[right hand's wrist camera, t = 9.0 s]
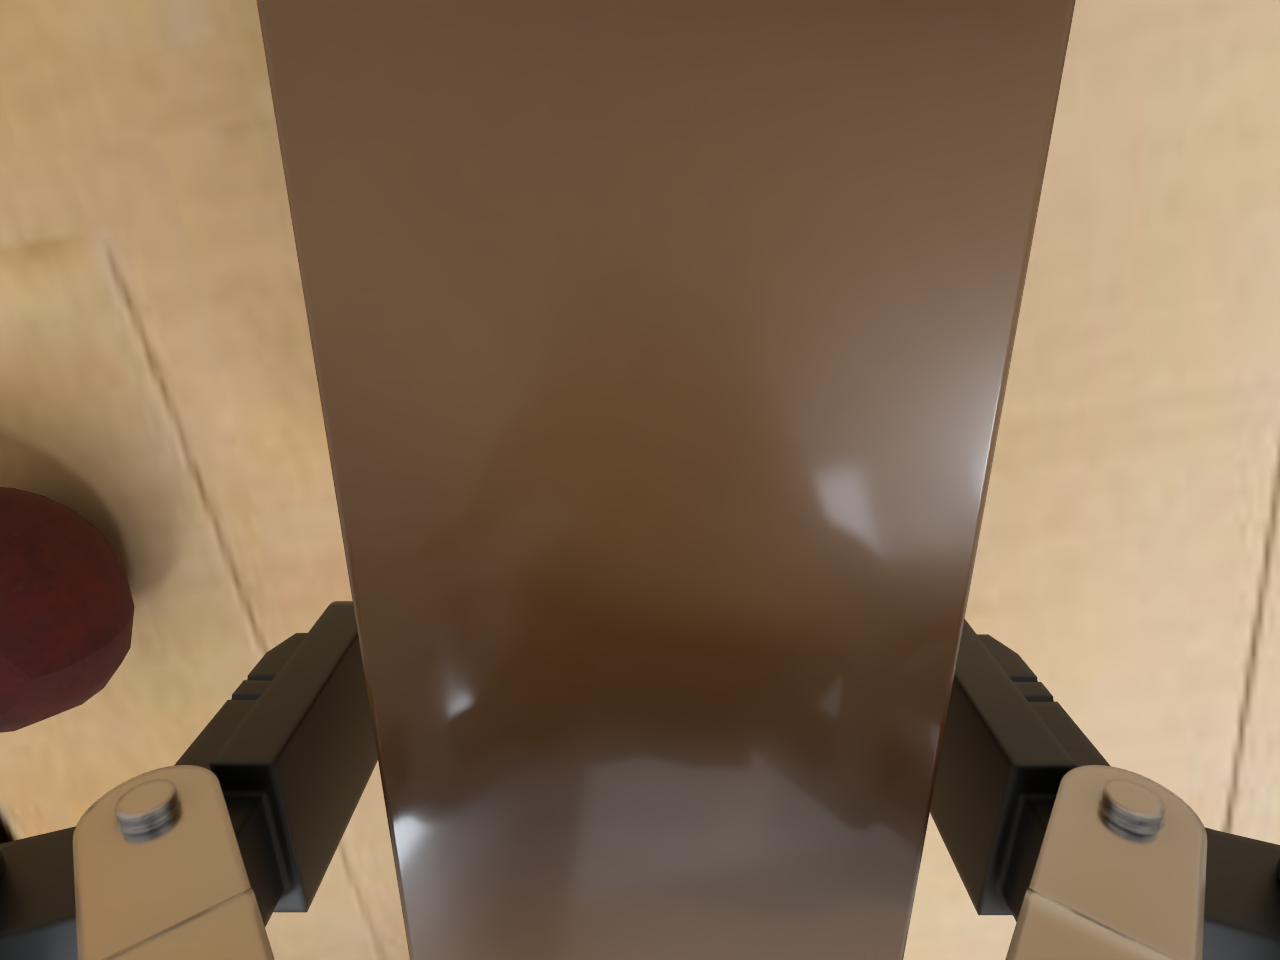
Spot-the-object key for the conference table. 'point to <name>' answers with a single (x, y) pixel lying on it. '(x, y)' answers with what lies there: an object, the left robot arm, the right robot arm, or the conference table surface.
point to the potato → (56, 609)
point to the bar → (661, 440)
